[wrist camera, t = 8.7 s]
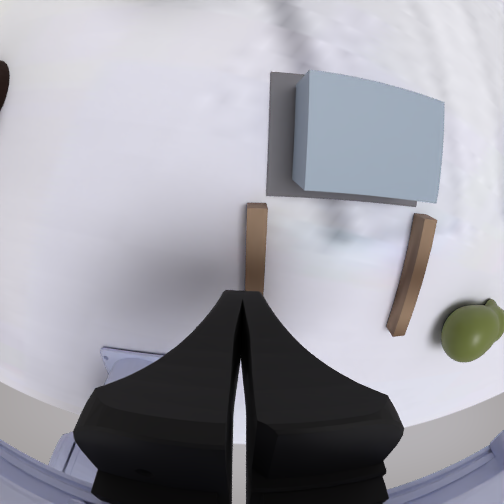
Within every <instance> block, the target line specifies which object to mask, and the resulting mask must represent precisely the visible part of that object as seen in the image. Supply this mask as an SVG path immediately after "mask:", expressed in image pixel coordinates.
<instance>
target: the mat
mask: <svg viewBox="0 0 504 504" xmlns="http://www.w3.org/2000/svg"><path fill="white" fill-rule="evenodd" d="M303 76H304V75H303V74H293V73H281V72H271V85H270V116H269V145H268V171H267V195H266V196H285V197H305V198H322V199H337V200H350V201H362V202H373V203H384V204H394V205H403V206H412V207H416V204H417V201H414V200H406V199H398V198H389V197H380V196H370V195H359V194H348V193H336V192H322V191H306V190H303V189H302V188H301V187H300V186H299V185H298V184H297V183H296V182H294V181H293V180H292V171H293V152H294V129H295V100H296V84H297V83H298V82H299V81H300V80H301V79H302V78H303Z"/></svg>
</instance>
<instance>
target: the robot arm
mask: <svg viewBox="0 0 504 504" xmlns="http://www.w3.org/2000/svg"><path fill="white" fill-rule="evenodd" d="M100 354H101V356H102V359H103V362H104V364H105V367H106V369H107V372H108V374H109V376H108V378H107V380H106V382H105V384H104V386H101V387H98V388H95V390H94V391H93V393H92V395H91V396H90V398H89V399H88V401H87V403H86V405H85V407H84V409H83V411H82V413H81V415H80V417H79V420H78V422H77V424H76V426H75V429H74V431H73V432H70V433H66V434H63V435H62V436H61V438H60V439H59V441H58V443H57V445H56V447H55V449H54V452H53V454H52V456H51V459H50V461H49V464H48V465H46V464H44V463H42V462H40V461H38V460H36V459H34V458H32V457H30V456H28V455H26V454H25V453H23V452H21V451H19V450H17V449H16V448H14V447H12V446H11V445H9V444H7V443H6V442H4V441H2V440H1V439H0V504H232V449H233V448H232V447H233V414H234V403H235V396H236V389H237V381H238V374H239V367H240V359H241V364H242V375H243V385H244V394H245V404H246V504H504V430H503V431H502V432H500V433H499V434H498V435H497V436H496V437H495V438H494V440H492V442H491V443H490V445H489V446H486V447H485V448H483V449H481V450H480V451H478V452H476V453H474V454H472V455H470V456H469V457H467V458H465V459H463V460H461V461H459V462H457V463H455V464H453V465H451V466H449V467H446V468H444V469H442V470H440V471H438V472H435V473H433V474H430V475H428V476H425V477H423V478H420V479H417V480H415V481H412V482H409V483H406V484H404V485H401V486H398V487H394V488H392V489H388V490H387V489H386V486H385V483H384V480H383V475H385V474H386V468H385V465H384V462H383V461H384V459H385V458H386V457H387V456H388V455H389V454H390V452H391V451H392V450H393V449H394V448H395V447H396V445H397V444H398V442H399V441H400V439H401V437H402V436H403V431H404V427H403V425H402V423H401V420H400V418H399V416H398V413H397V411H396V409H395V407H394V406H393V404H392V402H391V401H390V399H389V397H388V395H385V394H383V393H380V392H378V391H375V390H373V389H371V388H368V387H366V386H364V385H361V384H359V383H357V382H355V381H353V380H351V379H349V378H348V377H346V376H344V375H342V374H340V373H339V372H337V371H335V370H334V369H332V368H331V367H329V366H328V365H326V364H325V363H323V362H322V361H321V360H319V359H318V358H316V357H315V356H314V355H312V354H311V353H310V352H309V351H308V350H306V349H305V348H304V347H303V346H302V345H301V344H300V343H299V342H298V341H297V340H296V339H295V338H294V337H293V336H292V335H291V334H290V333H289V332H288V331H287V329H286V328H285V327H284V326H283V325H282V323H281V322H280V321H279V319H278V318H277V317H276V315H275V314H274V313H273V311H272V310H271V308H270V307H269V305H268V304H267V302H266V300H265V299H264V297H263V295H262V293H261V292H260V291H235V290H226V291H224V292H223V293H222V295H221V297H220V299H219V300H218V302H217V303H216V305H215V306H214V307H213V309H212V310H211V311H210V313H209V314H208V315H207V316H206V318H205V319H204V320H203V321H202V322H201V323H200V324H199V325H198V327H197V328H196V329H195V330H194V331H193V332H192V333H191V334H190V335H189V336H188V337H187V338H186V339H184V340H183V341H182V342H181V343H180V344H179V345H177V346H176V347H175V348H174V349H172V350H171V351H170V352H168V353H167V354H165V355H156V354H147V353H139V352H131V351H124V350H117V349H111V348H101V350H100Z"/></svg>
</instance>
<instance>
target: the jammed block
mask: <svg viewBox="0 0 504 504" xmlns="http://www.w3.org/2000/svg"><path fill="white" fill-rule="evenodd" d="M443 138H444V102H442V101H439V100H437V99H434V98H431V97H428V96H425V95H422V94H419V93H416V92H413V91H409V90H406V89H403V88H399V87H395V86H392V85H388V84H384V83H380V82H376V81H372V80H367V79H363V78H358V77H353V76H348V75H342V74H336V73H330V72H324V71H316V70H309V71H308V72H307V73H306V74H305V75H304V76H303V78H302V79H301V80H300V81H299V82H298V83H297V84H296V100H295V129H294V152H293V171H292V180H293V181H294V182H296V183H297V184H298V185H299V186H300V187H301V188H302V189H303V190H306V191H322V192H336V193H348V194H359V195H370V196H380V197H389V198H398V199H406V200H414V201H421V202H429V203H437V197H438V190H439V182H440V174H441V164H442V153H443Z"/></svg>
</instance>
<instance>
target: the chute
mask: <svg viewBox="0 0 504 504" xmlns="http://www.w3.org/2000/svg"><path fill="white" fill-rule="evenodd" d="M267 213H268V208H267V204H266V203H247V230H246V272H245V291H260V292H261V293H262V295H263V291H264V273H265V254H266V234H267ZM436 223H437V220H436V219H434V218H432V217H430V216H428V215H426V214H417V213H414V218H413V223H412V229H411V234H410V239H409V244H408V249H407V253H406V258H405V262H404V266H403V270H402V274H401V278H400V282H399V286H398V289H397V293H396V296H395V300H394V303H393V307H392V310H391V313H390V316H389V319H388V322H387V325H386V327H387V328H388V330H389V331H390V333H391V335H392V336H393V337H395V336H403V335H405V332H406V330H407V327H408V324H409V321H410V319H411V316H412V313H413V310H414V307H415V304H416V301H417V298H418V295H419V291H420V288H421V285H422V281H423V278H424V274H425V271H426V267H427V263H428V259H429V255H430V251H431V247H432V243H433V238H434V233H435V228H436Z"/></svg>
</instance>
